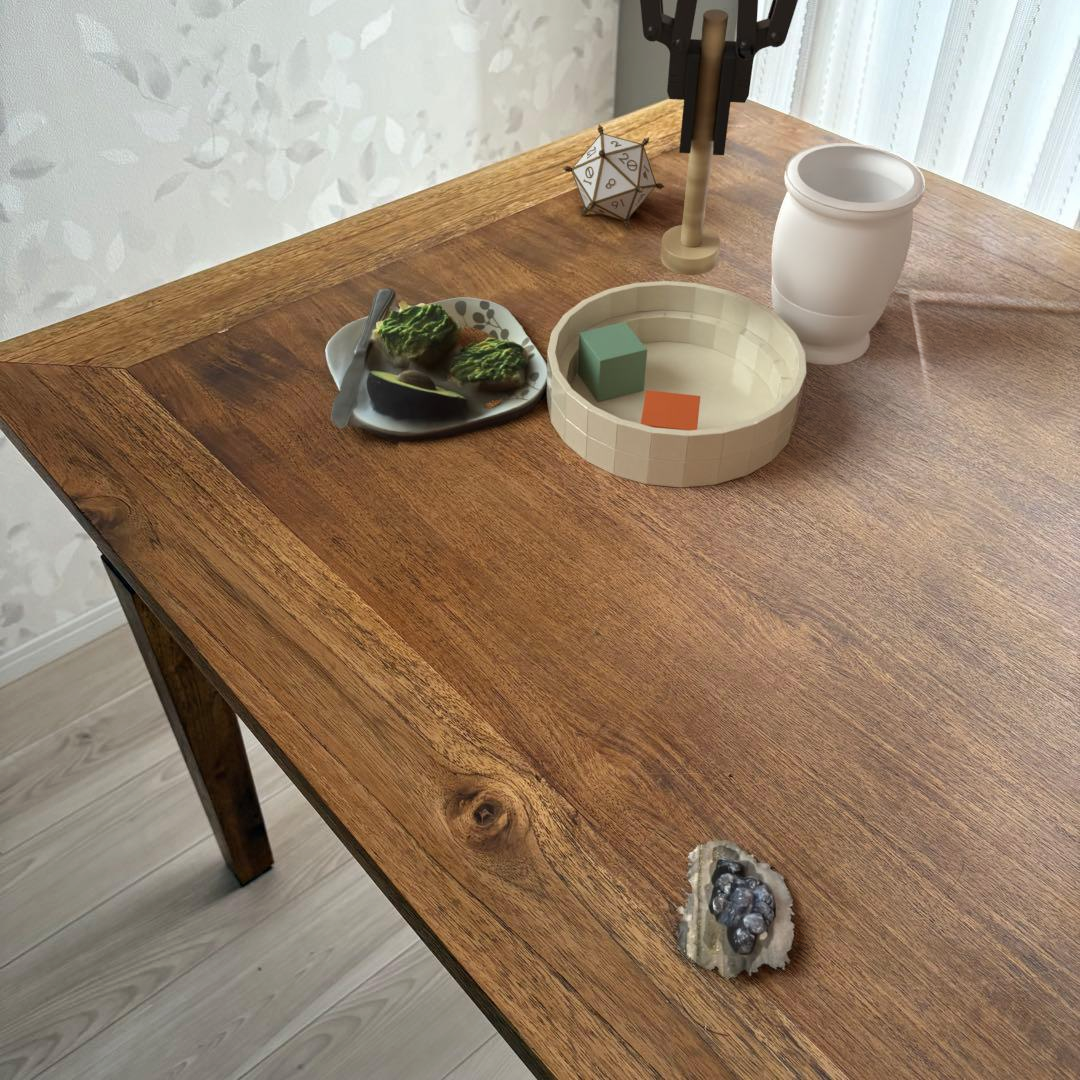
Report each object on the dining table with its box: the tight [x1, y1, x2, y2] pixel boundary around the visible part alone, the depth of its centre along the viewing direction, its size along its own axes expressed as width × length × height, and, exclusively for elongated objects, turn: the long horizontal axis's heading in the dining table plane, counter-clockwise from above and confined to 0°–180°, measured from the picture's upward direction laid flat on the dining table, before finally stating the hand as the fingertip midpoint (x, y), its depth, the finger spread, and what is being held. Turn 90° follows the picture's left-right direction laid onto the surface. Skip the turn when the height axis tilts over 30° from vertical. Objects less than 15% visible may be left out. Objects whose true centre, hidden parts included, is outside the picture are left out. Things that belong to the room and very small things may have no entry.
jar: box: [770, 142, 926, 366], centre depth 88 cm, size 11×10×15 cm
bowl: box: [546, 280, 808, 488], centre depth 85 cm, size 19×19×6 cm
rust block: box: [641, 390, 700, 430], centre depth 81 cm, size 4×4×4 cm
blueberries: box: [675, 838, 795, 980], centre depth 58 cm, size 7×8×2 cm
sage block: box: [578, 322, 647, 402], centre depth 87 cm, size 4×4×4 cm
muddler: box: [660, 8, 729, 276], centre depth 77 cm, size 4×4×18 cm
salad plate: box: [324, 287, 547, 444], centre depth 89 cm, size 19×18×5 cm
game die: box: [562, 124, 666, 230], centre depth 105 cm, size 9×8×10 cm
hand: (702, 144), depth 76 cm, fingers closed on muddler, 2 cm apart
